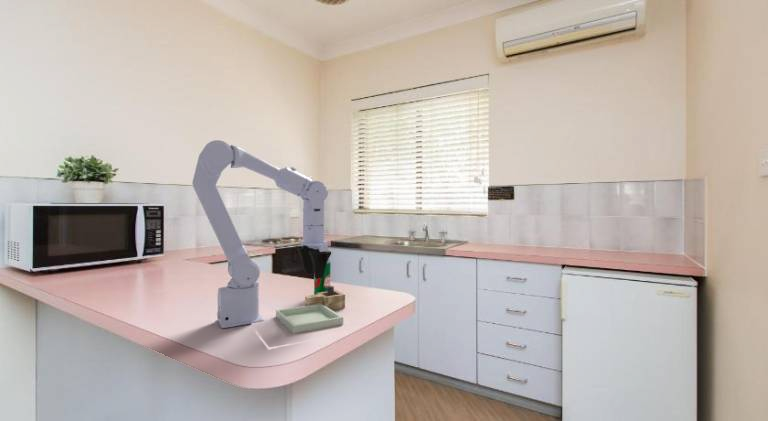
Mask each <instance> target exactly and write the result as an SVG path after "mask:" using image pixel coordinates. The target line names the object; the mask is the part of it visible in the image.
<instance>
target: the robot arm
mask: <svg viewBox="0 0 768 421" xmlns="http://www.w3.org/2000/svg"><path fill="white" fill-rule="evenodd" d="M229 165H230V169H237V168H243V169H244V168H245V169H247V170H250V171H251V172H254V173H257V174H259V175H262V176H264V177H265V178H268V179H271V180H273V181H274V182H275V186H276V187H277V188H279V189H282V190H283V191H285V192H287V193H290V194H292V195H295V196H297V197H300V199H302V201H303V203H302V204H303V206H302V207H303V208H302V239H301V247H299V248H297V249H296V250H297V252H298V254H299V256H300V258H301V261H302V265H303V270H304V273H305V274H313V277H314V276H315V278H323V276H324V272H325V268H326V264H327V261H328V259H329V260H330V257H331V255H332V251H330V250H329V249H328V248H329V245H328V244H329V240H325V201H326V199H327V197H328V194H329V191H328V190H327V187H326V186H325V184H324V183H323V182H321V181H319V180H312V179H313V177H312V176H310V175H308V176H306V175H304V174H302V173H300V172H298V171H297V168H295V167H293V166H291V167H290V168H289V167H287V166H285V167H281V168H279V167H277V166H275V165H273V164H271V163H269V162H267V161H265V160H263V159H262V158H260V157H259V156H256V155H254V154H253V153H251V152H248V151H246V150H244V149H242V148H240V147H238V146H237V145H233V144H230V145H229V143H227V142H226V141H223V140H219V139H217V140H212V141H211V140H210V141H209V142H208V143H206V145H205V146H204V147H203V148H202V151H200V153H199V154H198V159H197V162H196V167H195V172H194V174H193V179H192V187H193V189H194V191H195V193H196V195H197V197H198V200H199V202H200V204H201V206H202V208H203V210H204V213H205V215H206V217H207V220H208V221H209V223H210V225H211V227H212V229H213V232H214V234H215V236H216V238H217V241H218V243H219V245H220V247H221V248H222V251H223V252H224V256H225V258H226V260H227V264H228V265H227V272H228V274H229V276H230V277H231V278H230V280H229V281H228V282H227V286H222V287H219V288H218V289H217V313H216V314H217V315H216V316H217V322H218V324H219V325H220V328H221V329H226V328H233V327H238V326H239V327H240V326H245V325H251V324H254V323H260V322H264V319H263V318H262V316H261V315H260V311H259V310H260V308H259V307H260V306H259V305H260V300H259V299H260V298H259V296H260V292H259V290H260V286H259V285H260V284H259V283H260V282H259V277H260V273H261V271H260V268H259V267H260V266H258V264H257V263H256V262H254V261H253V260H252V259H251V258H250V256H249V253H248V252H247V250H246V248H245V246H244V245H243V243H242V240H241V238H240V236H239V233H238V230H237V229H236V226H235V224H234V222H233V221H232V218H231V216H230V214H229V212H228V210H227V207H226V204H225V203H224V201H223V199H222V196H221V194H220V192H219V190H218V188H217V183H218V180H219V179H220V177H221V175H222V173H223V172H224V170H225V169H226V168H228V166H229Z"/></svg>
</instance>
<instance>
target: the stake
mask: <svg viewBox="0 0 768 421" xmlns="http://www.w3.org/2000/svg"><path fill="white" fill-rule="evenodd" d="M334 290H335V287H334V286H333V285H331V286H328V287H327V296H333V295H334ZM344 308H346V306H345V307H344ZM344 308H343V309H344ZM338 309H340V308H338ZM338 309H337V310H338ZM332 311H334V309H332Z"/></svg>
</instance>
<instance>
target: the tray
mask: <svg viewBox="0 0 768 421" xmlns="http://www.w3.org/2000/svg"><path fill="white" fill-rule="evenodd" d="M275 317H276V319H278V320H279V321H280V322H281V323H282V325H284V326H285V327H286V328H287V329H288V330H289V331H290V332H291V333H292V334H295V335H296V334H299V333H305V332H310V331H315V330H320V329H325V328H329V327H330V328H331V327H335V326H339V325H344V316H342V315H341V314H339V313H337V312H335V311H334V310H331V309H329V308H328V307H326V306H324V305H323V304H321V303H320V304H314V305H307V306H305V305H301V306H296V307H288V308H282V309H276V310H275Z"/></svg>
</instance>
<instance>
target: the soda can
mask: <svg viewBox="0 0 768 421" xmlns="http://www.w3.org/2000/svg"><path fill="white" fill-rule="evenodd" d="M331 266H332V265H331V261H330V258H329V259H328V261H327V264H326V268H325V272H324V276H323V278H315V276H314V275H313V295H317V293H320V292H327V287H328V286H332V284H331V282H332V281H331V279H332V277H331Z"/></svg>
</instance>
